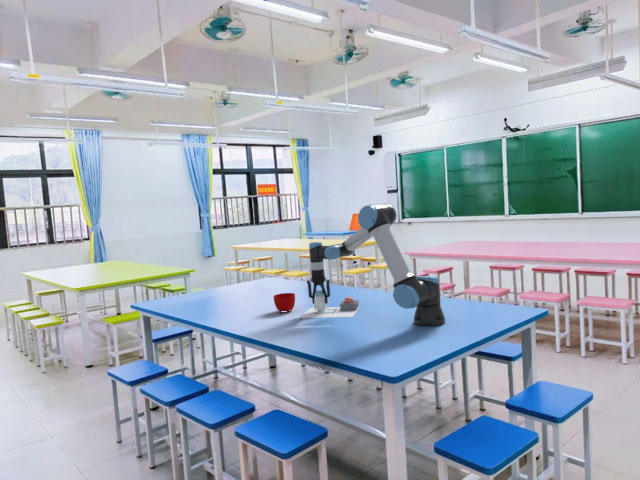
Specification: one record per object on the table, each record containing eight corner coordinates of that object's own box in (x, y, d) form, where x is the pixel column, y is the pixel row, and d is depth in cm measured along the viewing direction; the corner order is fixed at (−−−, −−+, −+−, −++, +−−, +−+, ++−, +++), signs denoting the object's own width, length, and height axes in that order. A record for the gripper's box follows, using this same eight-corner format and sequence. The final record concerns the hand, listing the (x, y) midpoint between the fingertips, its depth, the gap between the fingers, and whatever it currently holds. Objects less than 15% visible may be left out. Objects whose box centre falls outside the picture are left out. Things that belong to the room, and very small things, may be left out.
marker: (323, 312, 263) (321, 291, 262) (316, 312, 264) (314, 291, 263) (325, 310, 267) (323, 289, 266) (318, 310, 268) (316, 290, 267)
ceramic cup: (298, 307, 288) (297, 291, 287) (294, 313, 271) (293, 296, 270) (278, 308, 289) (276, 292, 288) (272, 314, 272) (271, 297, 271)
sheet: (352, 319, 247) (352, 316, 246) (299, 319, 254) (298, 317, 254) (359, 308, 270) (359, 306, 270) (310, 309, 277) (310, 307, 277)
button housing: (356, 310, 261) (355, 303, 260) (340, 310, 263) (340, 303, 263) (358, 306, 269) (358, 300, 269) (343, 307, 272) (343, 300, 271)
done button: (353, 306, 263) (352, 298, 263) (344, 306, 264) (343, 298, 264) (354, 304, 268) (353, 296, 267) (346, 304, 269) (345, 297, 269)
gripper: (334, 267, 265) (337, 307, 267) (304, 268, 269) (307, 308, 271) (331, 269, 258) (334, 310, 259) (300, 270, 262) (304, 311, 264)
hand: (320, 309), depth 265 cm, fingers open, 5 cm apart
